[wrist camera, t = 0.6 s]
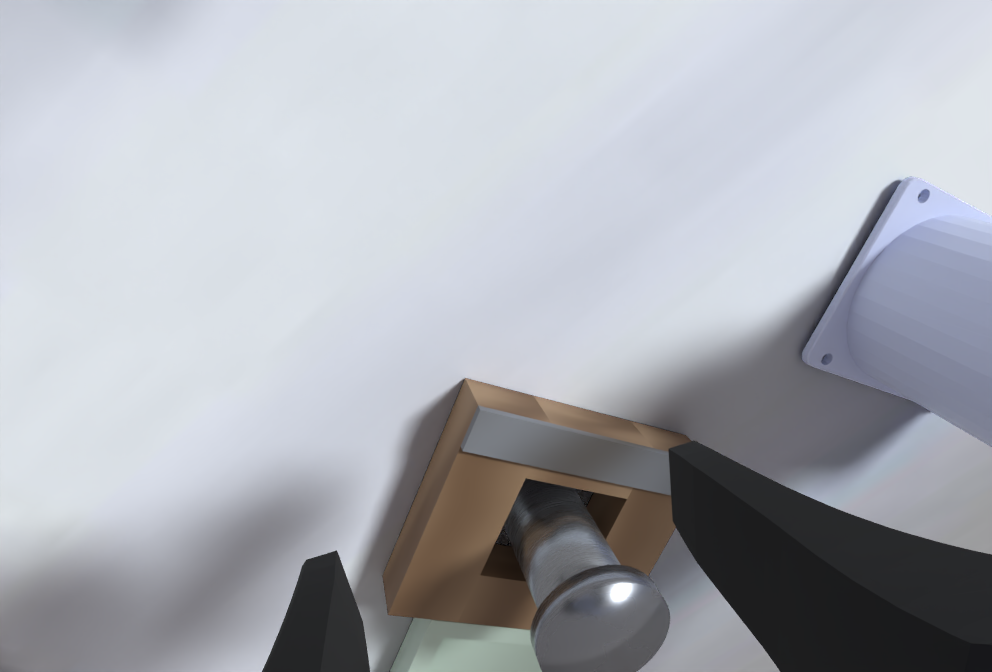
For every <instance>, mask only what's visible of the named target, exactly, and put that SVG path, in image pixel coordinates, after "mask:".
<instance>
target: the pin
mask: <svg viewBox="0 0 992 672" xmlns="http://www.w3.org/2000/svg"><path fill="white" fill-rule="evenodd" d="M503 526H504V528H505V531H506V533H507V536H508V538H509V541H510V543H511V546H512V548H513V550H514V553H515V555H516V558H517V560H518V563H519V565H520V568H521V570H522V572H523V575H524V577H525V580H526V582H527V585H528V587H529V590H530V592H531V594H532V597H533V599H534V602H535V604H536V607H537V609H538V610H537V611H536V613H535V616H534V618H533V621H532V624H531V630H530V639H531V644H532V647H533V650H534V652H535V655H536V658H537V660H538V663H539V666H540V668H541V670H542V672H636V671H638V670H639V669H641V668H642V667H643V666H644V665H645V664H646V663H647V662H648V661H649V660H650V659H651V658H652V657H653V656H654V655H655V654H656V652H657V651H658V650H659V648H660V647H661V645H662V644H663V642H664V640H665V638H666V635H667V632H668V629H669V624H670V613H669V609H668V606H667V604H666V602H665V600H664V598H663V597H662V595H661V594H660V592H659V591H658V589H657V587H656V586H655V584H654V583H653V581H652V580H651V579H650V578H649V577H648V576H647V575H646V574H645V573H644V572H642V571H640V570H638V569H636V568H633V567H630V566H625V565H621V564H620V563H619V561H618V559H617V558H616V556H615V554H614V553H613V551H612V549H611V548H610V546H609V545H608V543H607V541H606V540H605V538H604V536H603V535H602V533H601V531H600V530H599V528H598V526H597V525H596V523H595V521H594V520H593V518H592V516H591V515H590V513H589V511H588V510H587V508H586V506H585V505H584V503H583V502H582V500H581V498H580V497H579V495H578V493H577V492H576V490H575V488H571V487H566V486H561V485H556V484H551V483H546V482H541V481H536V480H531V479H527V478H526V479H525V481H524V483H523V485H522V487H521V489H520V491H519V494H518V496H517V498H516V500H515V502H514V504H513V506H512V508H511V511H510V513H509V515H508V517H507V519H506V521H505V523H504V525H503Z"/></svg>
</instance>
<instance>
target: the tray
mask: <svg viewBox="0 0 992 672" xmlns="http://www.w3.org/2000/svg"><path fill="white" fill-rule="evenodd" d="M390 672H542V670H541V668H540V666H539V663H538V660H537V658H536V655H535V652H534V650H533V647H532V644H531V639H530V630H526V629H517V628H507V627H498V626H488V625H479V624H469V623H460V622H450V621H441V620H431V619H422V618H413V621H412V623H411V625H410V627H409V630H408V632H407V634H406V636H405V639H404V641H403V643H402V645H401V648H400V650H399V652H398V654H397V656H396V659H395V661H394V663H393V665H392V668H391V670H390Z"/></svg>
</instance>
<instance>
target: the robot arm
mask: <svg viewBox="0 0 992 672" xmlns="http://www.w3.org/2000/svg"><path fill="white" fill-rule="evenodd" d="M920 192H921V194H920V197H919V198H918V195H919V193H920ZM824 355H825V357H824V358H823V356H824ZM822 358H823V359H822ZM802 360H803V362H805V363H806V364H808V365H810V366H811V367H814V368H817V369H820V370H823V371H826V372H829V373H832V374H835V375H838V376H840V377H843V378H846V379H849V380H852V381H855V382H858V383H861V384H864V385H867V386H870V387H873V388H876V389H879V390H882V391H885V392H888V393H890V394H893V395H896V396H899V397H902V398H905V399H908V400H911V401H914V402H915V403H917V404H919V405H921V406H922V407H924V408H926V409H927V410H929V411H931V412H933V413H934V414H936V415H938V416H939V417H941V418H943V419H945V420H946V421H948V422H950V423H951V424H953V425H955V426H957V427H958V428H960V429H962V430H963V431H965V432H967V433H969V434H970V435H972V436H974V437H975V438H977V439H979V440H981V441H982V442H984V443H986V444H987V445H989V446H991V447H992V216H990V215H988V214H986V213H984V212H983V211H981V210H979V209H977V208H975V207H973V206H971V205H970V204H968V203H966V202H964V201H962V200H960V199H958V198H957V197H955V196H953V195H951V194H949V193H947V192H945V191H944V190H942V189H940V188H938V187H936V186H934V185H932V184H931V183H929V182H927V181H925V180H923V179H921V178H916V177H912V176H910V177H907V178H905V179H904V180H902V182H901V183H900V184H899V185H898V187H897V189H896V191H895V192H894V194H893V196H892V198H891V199H890V201H889V203H888V204H887V206H886V208H885V210H884V211H883V213H882V215H881V217H880V218H879V220H878V222H877V223H876V225H875V227H874V229H873V230H872V232H871V234H870V236H869V237H868V239H867V241H866V242H865V244H864V246H863V248H862V249H861V251H860V253H859V255H858V256H857V258H856V260H855V261H854V263H853V265H852V267H851V268H850V270H849V272H848V274H847V275H846V277H845V279H844V281H843V282H842V284H841V286H840V287H839V289H838V291H837V293H836V294H835V296H834V298H833V300H832V301H831V303H830V305H829V306H828V308H827V310H826V312H825V313H824V315H823V317H822V319H821V320H820V322H819V324H818V325H817V327H816V329H815V331H814V332H813V334H812V336H811V338H810V339H809V341H808V343H807V344H806V346H805V348H804V350H803V352H802ZM668 451H669V468H670V485H671V502H672V519H673V523H674V524H675V526H676V528H677V530H678V531H679V533H680V535H681V537H682V538H683V540H684V542H685V544H686V545H687V547H688V548H689V550H690V552H691V553H692V555H693V557H694V558H695V560H696V561H697V563H698V564H699V565H700V567H701V568H702V569H703V571H704V572H705V573H706V575H707V576H708V577H709V579H710V580H711V581H712V582H713V584H714V585H715V586H716V588H717V589H718V590H719V592H720V593H721V594H722V595H723V597H724V598H725V599H726V600H727V602H728V603H729V604H730V606H731V607H732V608H733V609H734V611H735V612H736V613H737V615H738V616H739V617H740V618H741V620H742V621H743V622H744V623H745V625H746V626H747V627H748V629H749V630H750V631H751V632H752V634H753V635H754V636H755V637H756V639H757V640H758V641H759V643H760V644H761V645H762V646H763V648H764V649H765V651H766V652H767V653H768V655H769V656H770V658H771V659H772V660H773V662H774V663H775V664H776V666H777V667H778V669H779V670H780V672H992V555H991V554H986V553H981V552H977V551H972V550H968V549H964V548H960V547H955V546H951V545H947V544H943V543H940V542H936V541H933V540H929V539H925V538H922V537H918V536H915V535H911V534H908V533H904V532H901V531H898V530H895V529H891V528H888V527H885V526H882V525H880V524H877V523H874V522H871V521H868V520H865V519H862V518H860V517H857V516H854V515H851V514H849V513H846V512H843V511H841V510H838V509H836V508H833V507H831V506H828V505H826V504H824V503H821V502H819V501H817V500H814V499H812V498H810V497H807V496H805V495H803V494H801V493H798V492H796V491H794V490H792V489H790V488H787V487H785V486H783V485H781V484H779V483H777V482H775V481H773V480H771V479H769V478H767V477H765V476H763V475H761V474H759V473H757V472H755V471H753V470H751V469H749V468H747V467H745V466H743V465H741V464H739V463H737V462H735V461H733V460H731V459H729V458H727V457H725V456H724V455H722V454H720V453H718V452H716V451H714V450H712V449H710V448H708V447H706V446H704V445H702V444H700V443H698V442H696V441H691V442H688V443H685V444H682V445H678V446H675V447H672V448H669V449H668ZM262 672H370V668H369V660H368V653H367V646H366V639H365V632H364V626H363V621H362V618H361V616H360V613H359V610H358V607H357V604H356V602H355V599H354V596H353V593H352V591H351V588H350V585H349V582H348V580H347V577H346V574H345V571H344V569H343V566H342V563H341V560H340V558H339V555H338V552H337V551H334V552H331V553H327V554H324V555H321V556H318V557H314V558H311V559H308V560H306V561H305V563H304V564H303V566H302V569H301V572H300V575H299V578H298V581H297V585H296V588H295V591H294V593H293V596H292V599H291V602H290V605H289V607H288V610H287V613H286V616H285V618H284V621H283V623H282V626H281V628H280V631H279V633H278V636H277V638H276V641H275V643H274V645H273V648H272V650H271V653H270V655H269V657H268V660H267V662H266V664H265V666H264V668H263V671H262Z"/></svg>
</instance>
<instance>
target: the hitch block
mask: <svg viewBox="0 0 992 672" xmlns="http://www.w3.org/2000/svg"><path fill="white" fill-rule="evenodd" d="M688 442H691V440H690V439H689V438H688V437H687V436H686V435H683V434H679V433H675V432H671V431H667V430H664V429H660V428H656V427H652V426H648V425H644V424H640V423H637V422H633V421H629V420H625V419H621V418H617V417H613V416H610V415H606V414H602V413H598V412H594V411H590V410H586V409H582V408H579V407H575V406H571V405H567V404H563V403H559V402H555V401H552V400H548V399H544V398H540V397H536V396H532V395H528V394H525V393H521V392H517V391H513V390H509V389H505V388H501V387H498V386H494V385H490V384H486V383H482V382H478V381H474V380H471V379H467V378H465V380H464V382H463V384H462V387H461V389H460V392H459V394H458V396H457V399H456V401H455V404H454V406H453V408H452V411H451V413H450V416H449V418H448V420H447V423H446V425H445V428H444V430H443V432H442V435H441V437H440V439H439V442H438V444H437V447H436V449H435V451H434V454H433V456H432V459H431V461H430V463H429V466H428V468H427V471H426V473H425V475H424V478H423V480H422V483H421V485H420V487H419V490H418V492H417V495H416V497H415V499H414V502H413V504H412V506H411V509H410V511H409V514H408V516H407V518H406V521H405V523H404V526H403V528H402V530H401V533H400V535H399V538H398V540H397V542H396V545H395V547H394V550H393V552H392V554H391V557H390V559H389V562H388V564H387V566H386V569H385V571H384V574H383V583H384V590H385V597H386V604H387V611H388V615H393V616H403V617H412V618H422V619H431V620H441V621H450V622H460V623H469V624H479V625H488V626H498V627H507V628H517V629H526V630H531V624H532V621H533V618H534V616H535V613H536V611H537V610H538V609H537V607H536V604H535V602H534V599H533V597H532V594H531V592H530V590H529V587H528V585H527V582H526V580H525V577H524V575H523V572H522V570H521V568H520V565H519V563H518V560H517V558H516V555H515V553H514V550H513V548H512V546H506V545H499V544H495V542H496V540H497V538H498V536H499V534H500V532H501V530H502V527H503V525H504V523H505V521H506V519H507V517H508V515H509V513H510V511H511V508H512V506H513V504H514V502H515V500H516V498H517V496H518V494H519V491H520V489H521V487H522V485H523V483H524V481H525V479H526V478H527V479H531V480H536V481H541V482H546V483H551V484H556V485H561V486H566V487H571V488H576V489H580V490H585V491H590V492H594V493H593V495H592V497H591V499H590V501H589V503H588V505H587V507H586V508H587V510H588V511H589V513H590V515H591V516H592V518H593V520H594V521H595V523H596V525H597V526H598V528H599V530H600V531H601V533H602V535H603V536H604V538H605V540H606V541H607V543H608V545H609V546H610V548H611V549H612V551H613V553H614V554H615V556H616V558H617V559H618V561H619V563H620V564H621V565H625V566H630V567H633V568H636V569H638V570H640V571H642V572H644V573H645V574H646V575H647V576H649V574H650V572H651V570H652V569H653V567H654V565H655V563H656V562H657V560H658V558H659V556H660V555H661V553H662V551H663V549H664V547H665V546H666V544H667V542H668V540H669V539H670V537H671V535H672V533H673V531H674V530H675V528H676V526H675V524H674V523H673V519H672V502H671V485H670V468H669V451H668V449H669V448H672V447H675V446H678V445H682V444H685V443H688Z"/></svg>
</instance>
